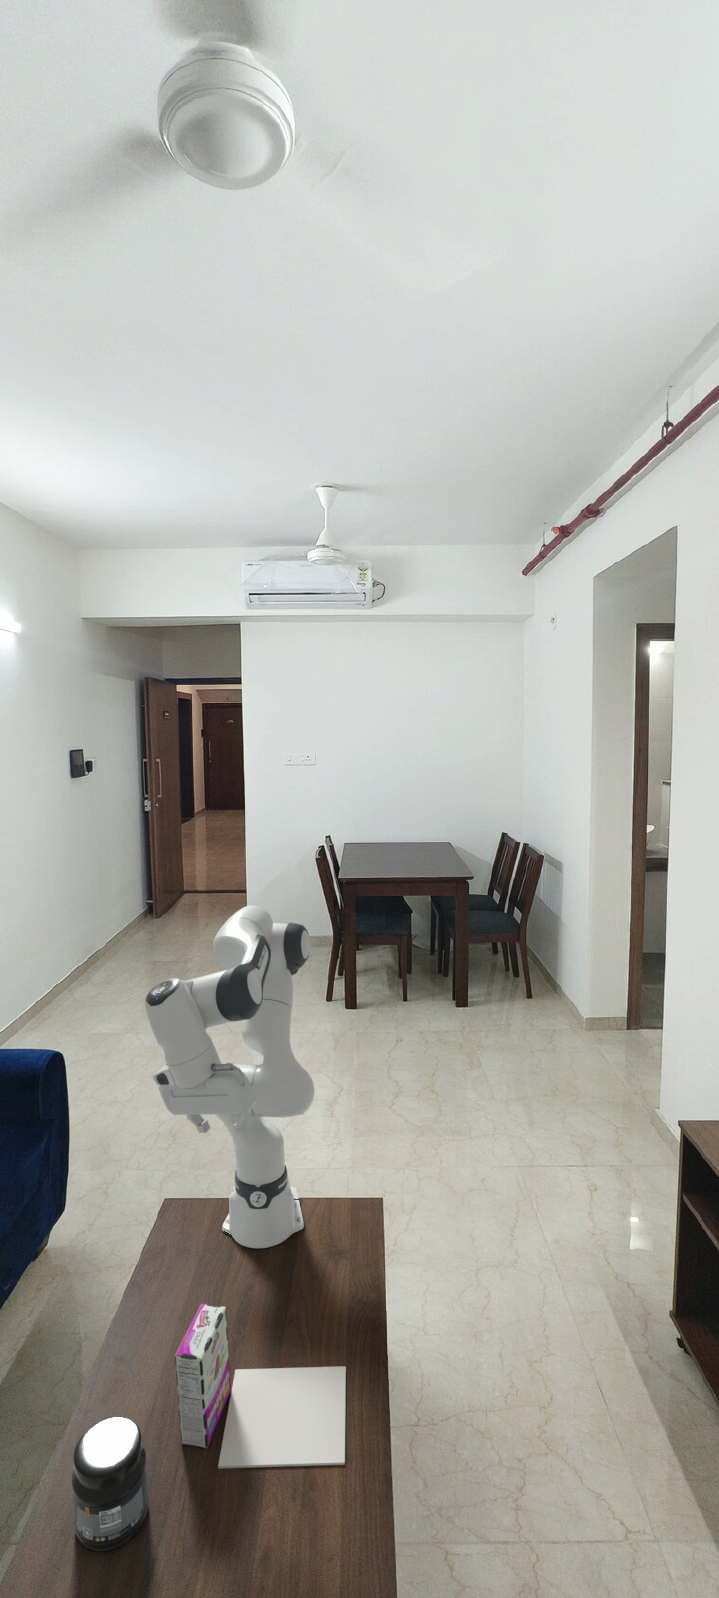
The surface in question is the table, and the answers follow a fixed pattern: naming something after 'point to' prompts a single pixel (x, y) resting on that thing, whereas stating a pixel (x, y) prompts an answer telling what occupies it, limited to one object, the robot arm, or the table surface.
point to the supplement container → (109, 1484)
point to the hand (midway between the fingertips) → (223, 1131)
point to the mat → (285, 1418)
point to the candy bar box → (203, 1375)
